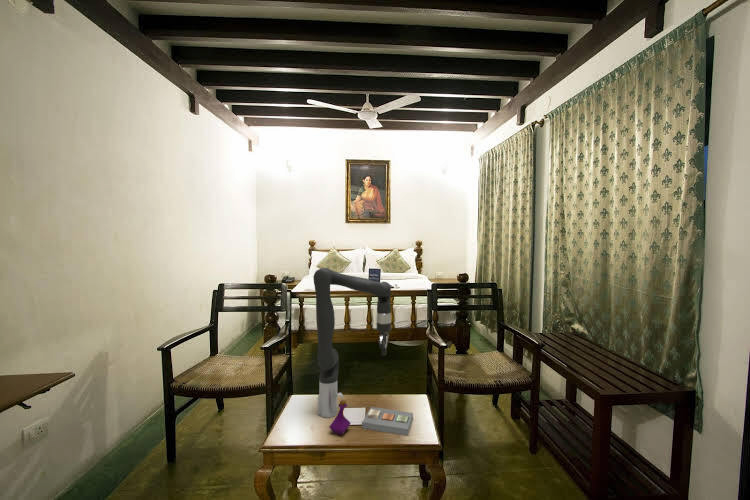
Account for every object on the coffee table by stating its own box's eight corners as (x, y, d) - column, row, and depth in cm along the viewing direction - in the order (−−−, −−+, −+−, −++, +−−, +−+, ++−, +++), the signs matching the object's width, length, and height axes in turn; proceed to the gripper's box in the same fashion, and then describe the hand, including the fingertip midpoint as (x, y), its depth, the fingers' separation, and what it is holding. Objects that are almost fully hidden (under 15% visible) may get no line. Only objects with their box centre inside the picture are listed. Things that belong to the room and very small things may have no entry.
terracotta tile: (381, 422, 160) (381, 418, 160) (384, 417, 165) (384, 413, 164) (392, 423, 158) (392, 419, 158) (394, 418, 163) (394, 414, 163)
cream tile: (368, 418, 162) (368, 414, 162) (370, 413, 166) (370, 409, 166) (377, 419, 160) (377, 415, 160) (380, 414, 165) (380, 410, 165)
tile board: (362, 428, 157) (362, 422, 157) (370, 412, 172) (370, 406, 172) (407, 435, 151) (407, 429, 151) (412, 418, 166) (412, 412, 166)
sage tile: (396, 424, 158) (396, 420, 158) (398, 419, 163) (398, 415, 163) (406, 426, 156) (406, 421, 156) (408, 420, 161) (408, 416, 161)
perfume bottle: (351, 429, 156) (350, 391, 156) (342, 438, 149) (342, 398, 149) (337, 425, 159) (337, 388, 159) (328, 434, 153) (328, 395, 152)
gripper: (380, 318, 175) (379, 350, 176) (373, 323, 163) (373, 358, 163) (393, 318, 173) (393, 351, 174) (388, 325, 161) (387, 360, 161)
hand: (383, 355), depth 169 cm, fingers closed
